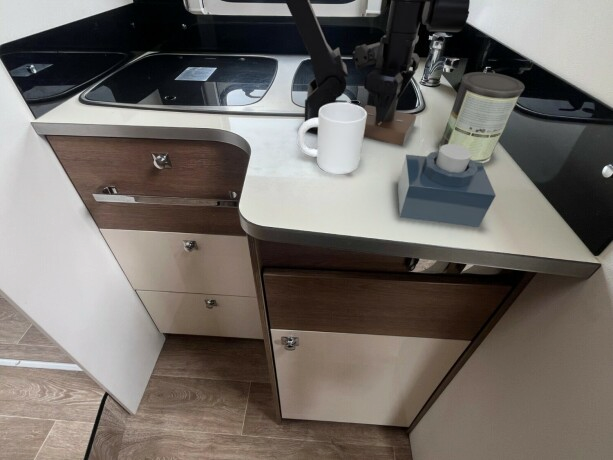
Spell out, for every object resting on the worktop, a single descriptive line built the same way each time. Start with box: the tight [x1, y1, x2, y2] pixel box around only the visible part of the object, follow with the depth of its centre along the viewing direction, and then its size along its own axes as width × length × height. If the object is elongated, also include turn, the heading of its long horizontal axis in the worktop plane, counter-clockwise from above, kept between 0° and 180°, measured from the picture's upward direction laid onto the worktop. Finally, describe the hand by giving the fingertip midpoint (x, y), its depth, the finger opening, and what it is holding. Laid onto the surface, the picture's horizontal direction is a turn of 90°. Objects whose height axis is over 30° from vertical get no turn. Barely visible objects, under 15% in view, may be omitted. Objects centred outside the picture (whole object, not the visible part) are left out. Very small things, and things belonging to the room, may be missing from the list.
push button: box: [436, 144, 472, 173], centre depth 47 cm, size 4×4×2 cm
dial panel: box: [362, 104, 417, 147], centre depth 71 cm, size 12×10×3 cm
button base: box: [397, 150, 496, 228], centre depth 50 cm, size 12×9×8 cm
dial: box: [376, 97, 399, 122], centre depth 68 cm, size 4×4×5 cm
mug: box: [296, 102, 367, 175], centre depth 58 cm, size 12×8×10 cm
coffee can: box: [438, 71, 526, 165], centre depth 61 cm, size 10×10×14 cm
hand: (385, 112), depth 69 cm, fingers open, 9 cm apart
